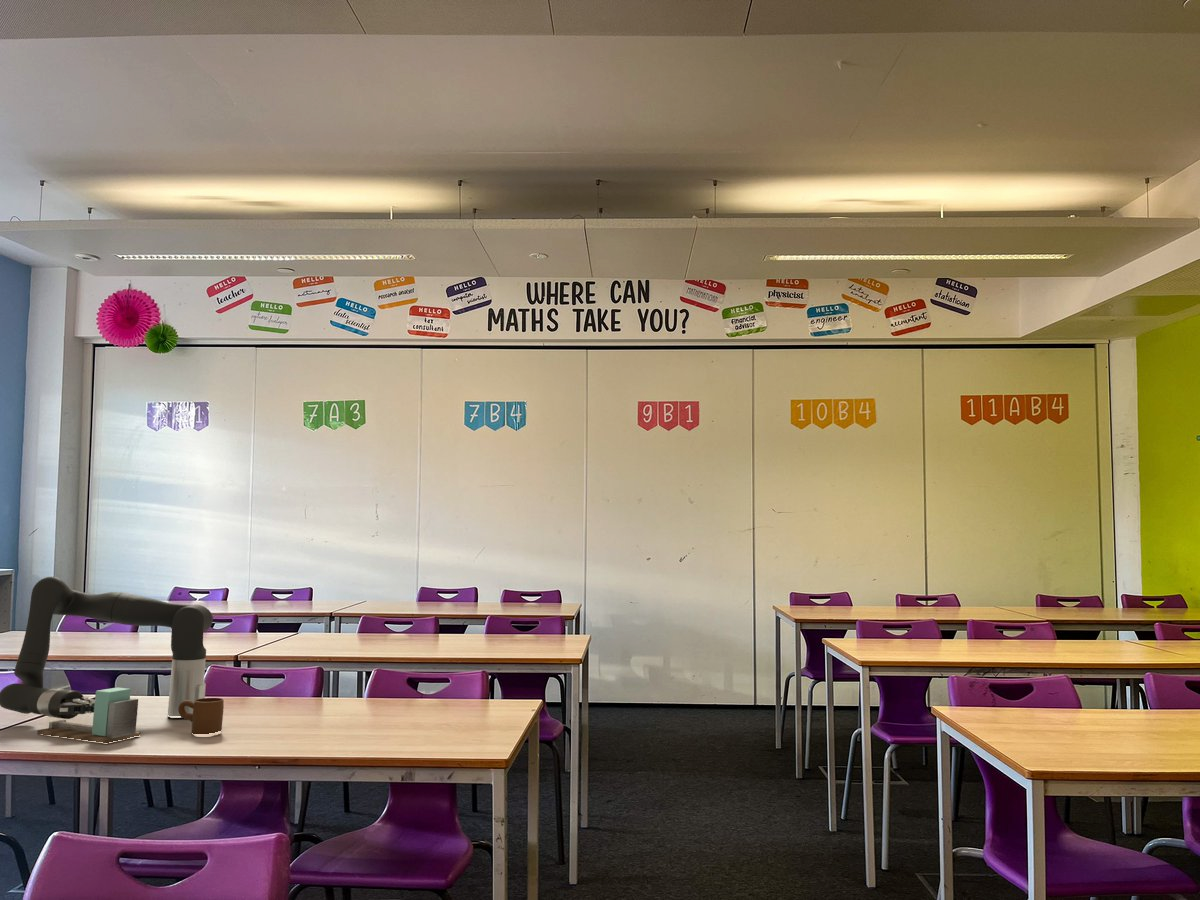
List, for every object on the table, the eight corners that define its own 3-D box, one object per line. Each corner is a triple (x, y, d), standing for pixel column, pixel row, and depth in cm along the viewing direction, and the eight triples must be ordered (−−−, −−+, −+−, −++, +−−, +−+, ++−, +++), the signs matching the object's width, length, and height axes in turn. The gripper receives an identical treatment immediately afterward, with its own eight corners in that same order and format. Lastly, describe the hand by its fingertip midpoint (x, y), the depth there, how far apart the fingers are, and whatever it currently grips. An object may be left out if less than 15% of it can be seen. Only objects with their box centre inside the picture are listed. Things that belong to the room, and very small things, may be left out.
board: (37, 734, 223) (37, 730, 224) (72, 727, 233) (72, 723, 233) (106, 744, 214) (106, 739, 214) (139, 737, 223) (140, 732, 223)
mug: (169, 737, 224) (172, 701, 225) (183, 731, 231) (186, 696, 232) (213, 738, 224) (216, 702, 225) (226, 732, 231) (228, 697, 232)
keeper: (91, 734, 219) (95, 690, 220) (113, 729, 225) (117, 687, 226) (105, 736, 217) (109, 692, 218) (126, 731, 223) (130, 688, 224)
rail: (43, 729, 225) (46, 695, 226) (67, 724, 231) (71, 691, 233) (111, 738, 215) (115, 703, 217) (135, 733, 222) (138, 699, 223)
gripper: (38, 693, 223) (83, 698, 217) (84, 686, 235) (128, 691, 229) (35, 721, 222) (80, 727, 216) (81, 713, 234) (125, 719, 228)
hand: (105, 708), depth 222 cm, fingers closed
